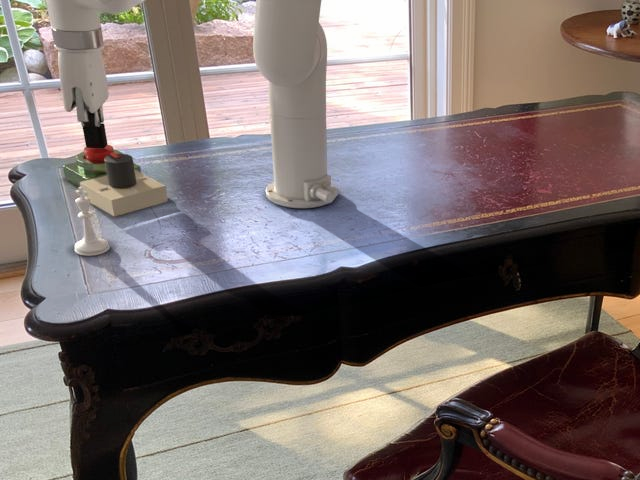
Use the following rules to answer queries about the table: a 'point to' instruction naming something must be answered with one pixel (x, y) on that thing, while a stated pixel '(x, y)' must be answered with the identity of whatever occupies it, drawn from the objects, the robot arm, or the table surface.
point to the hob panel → (124, 194)
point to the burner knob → (120, 170)
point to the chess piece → (88, 229)
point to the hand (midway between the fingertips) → (97, 146)
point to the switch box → (87, 169)
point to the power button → (98, 153)
